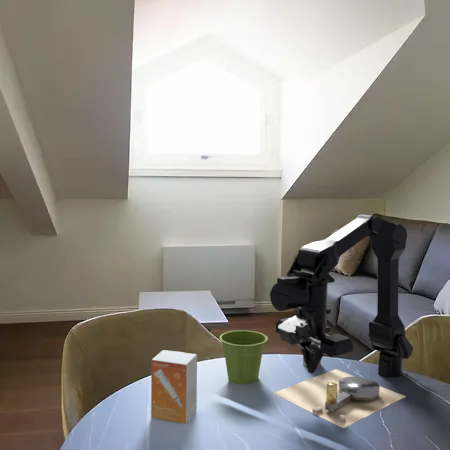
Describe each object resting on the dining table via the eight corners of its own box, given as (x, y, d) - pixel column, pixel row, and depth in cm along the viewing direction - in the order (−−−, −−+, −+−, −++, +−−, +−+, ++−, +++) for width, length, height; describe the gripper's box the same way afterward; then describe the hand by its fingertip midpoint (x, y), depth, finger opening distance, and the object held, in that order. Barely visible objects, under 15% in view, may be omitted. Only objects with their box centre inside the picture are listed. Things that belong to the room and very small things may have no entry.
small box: (150, 419, 105) (150, 359, 104) (163, 405, 111) (163, 348, 110) (186, 425, 103) (186, 364, 101) (197, 411, 109) (197, 353, 107)
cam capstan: (351, 381, 122) (352, 358, 121) (386, 393, 115) (387, 369, 115) (310, 404, 110) (311, 379, 109) (347, 418, 103) (348, 392, 103)
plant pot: (274, 378, 126) (276, 335, 125) (251, 395, 117) (252, 349, 115) (235, 367, 133) (235, 326, 132) (209, 383, 123) (210, 339, 122)
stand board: (335, 372, 130) (336, 366, 130) (405, 400, 115) (406, 393, 115) (272, 397, 116) (272, 389, 116) (343, 433, 101) (343, 424, 100)
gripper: (258, 299, 113) (256, 366, 114) (317, 320, 97) (314, 397, 99) (295, 292, 119) (293, 356, 121) (356, 312, 103) (353, 384, 105)
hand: (311, 372), depth 111 cm, fingers closed
